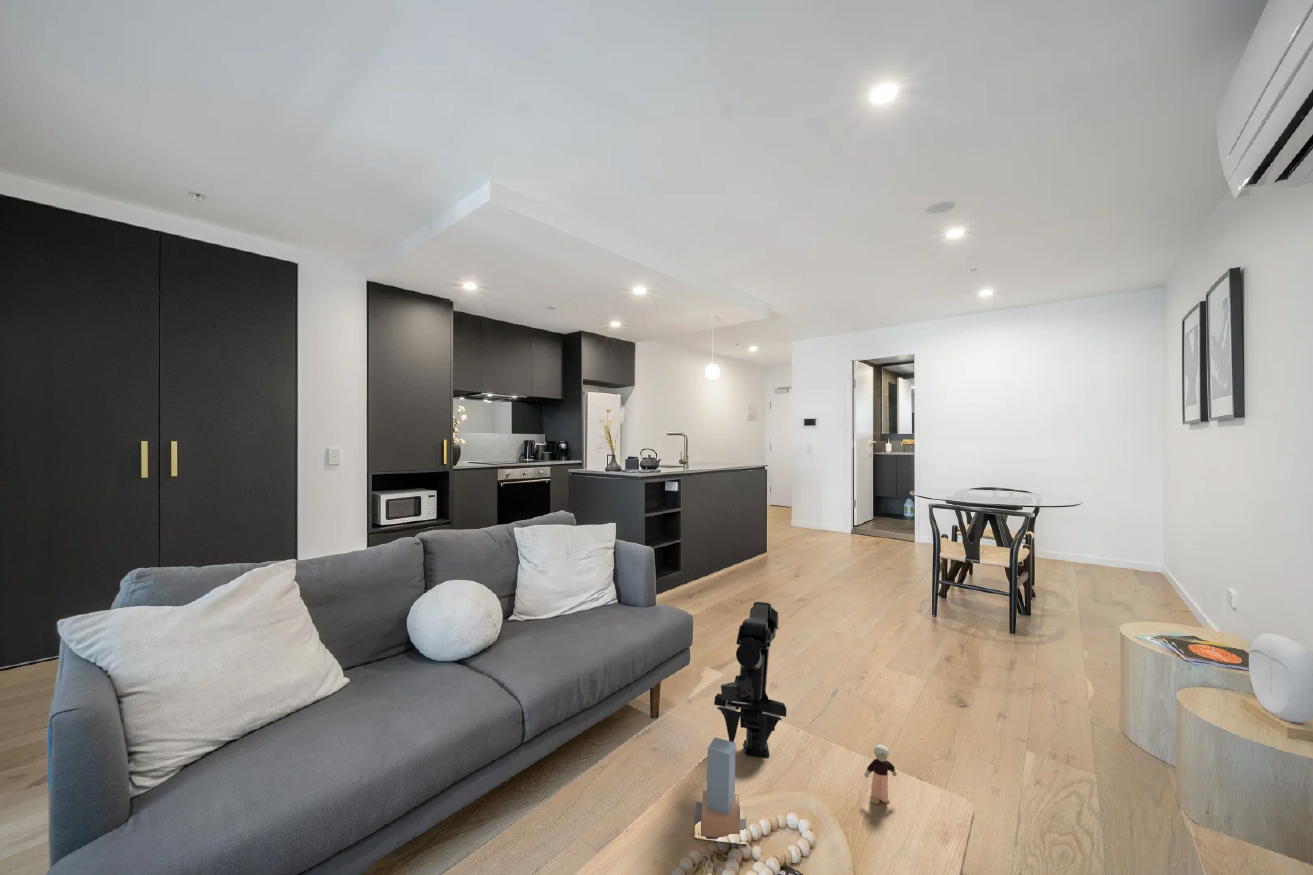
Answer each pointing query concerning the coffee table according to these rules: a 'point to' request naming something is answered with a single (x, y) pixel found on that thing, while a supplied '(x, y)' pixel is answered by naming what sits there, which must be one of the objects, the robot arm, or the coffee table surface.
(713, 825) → the tower base
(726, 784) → the slate column brick
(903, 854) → the coffee table surface
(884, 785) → the grandmother figurine
